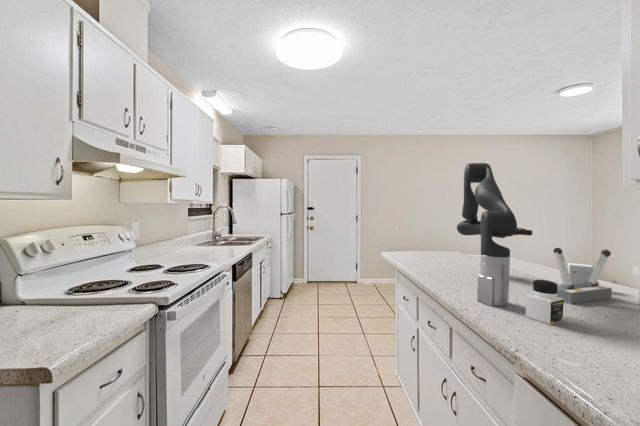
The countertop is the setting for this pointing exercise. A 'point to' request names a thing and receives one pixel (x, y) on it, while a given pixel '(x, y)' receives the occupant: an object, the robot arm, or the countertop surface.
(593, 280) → the lever
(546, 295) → the medicine bottle
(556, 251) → the lever
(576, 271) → the small box
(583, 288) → the switch console
